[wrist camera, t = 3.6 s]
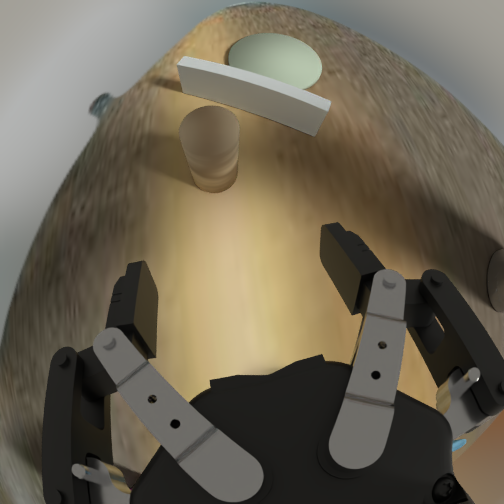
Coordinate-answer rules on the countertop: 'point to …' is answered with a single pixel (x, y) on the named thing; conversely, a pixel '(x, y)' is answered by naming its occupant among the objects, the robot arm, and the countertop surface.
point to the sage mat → (277, 59)
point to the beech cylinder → (211, 147)
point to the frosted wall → (253, 94)
